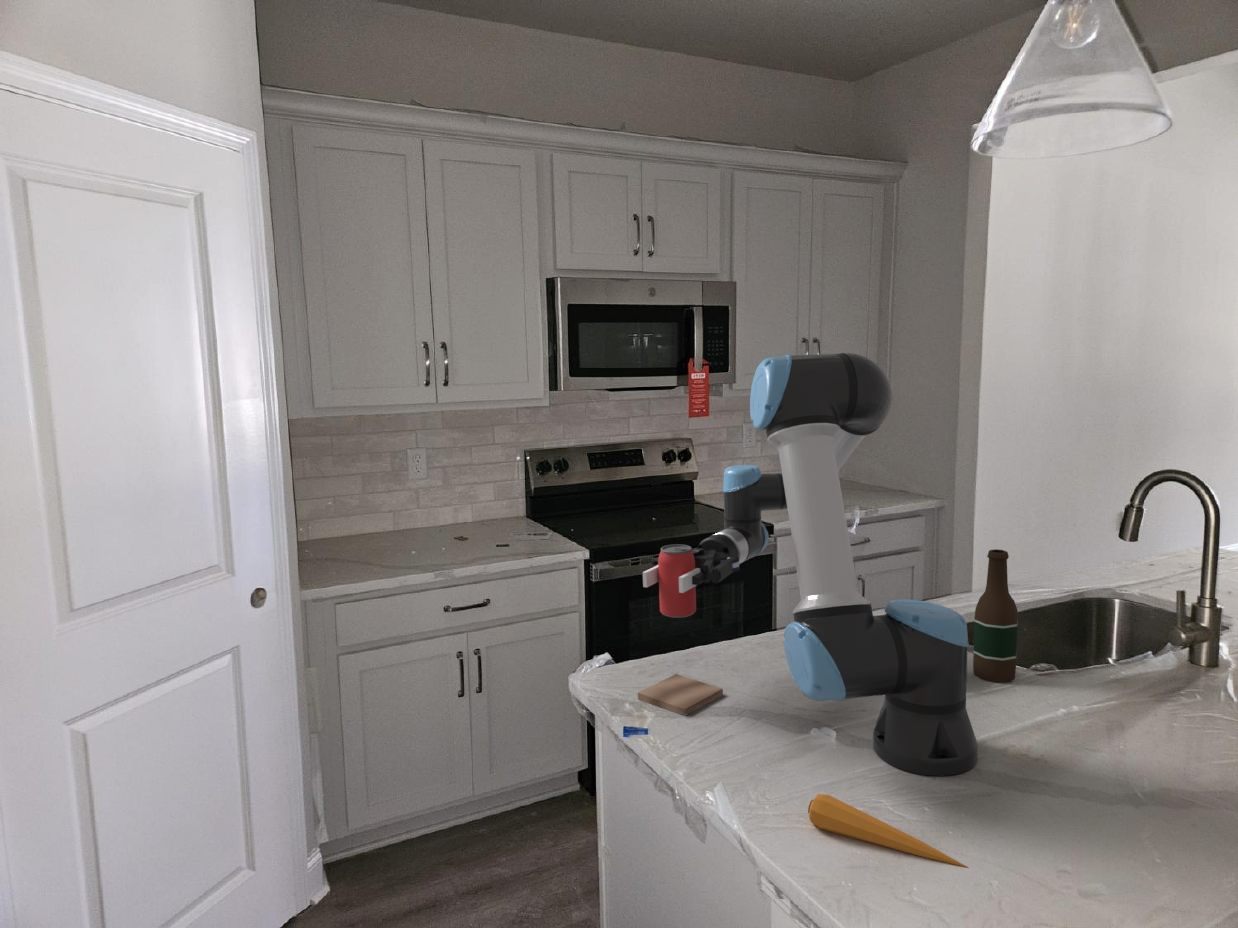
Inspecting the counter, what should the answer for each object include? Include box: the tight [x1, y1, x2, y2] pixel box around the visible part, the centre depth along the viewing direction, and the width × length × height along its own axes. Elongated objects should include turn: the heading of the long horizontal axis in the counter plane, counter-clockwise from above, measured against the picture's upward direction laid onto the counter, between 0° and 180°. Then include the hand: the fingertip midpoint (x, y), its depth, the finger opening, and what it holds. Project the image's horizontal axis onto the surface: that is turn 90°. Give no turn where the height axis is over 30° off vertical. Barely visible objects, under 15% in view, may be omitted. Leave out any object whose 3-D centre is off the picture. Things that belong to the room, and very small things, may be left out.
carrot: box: [807, 793, 969, 868], centre depth 104 cm, size 20×4×4 cm, turn 57°
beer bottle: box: [972, 548, 1019, 684], centre depth 152 cm, size 8×8×24 cm
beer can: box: [658, 543, 697, 619], centre depth 147 cm, size 7×7×12 cm
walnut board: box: [637, 673, 724, 716], centre depth 150 cm, size 11×11×1 cm
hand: (662, 582), depth 143 cm, fingers closed on beer can, 6 cm apart
